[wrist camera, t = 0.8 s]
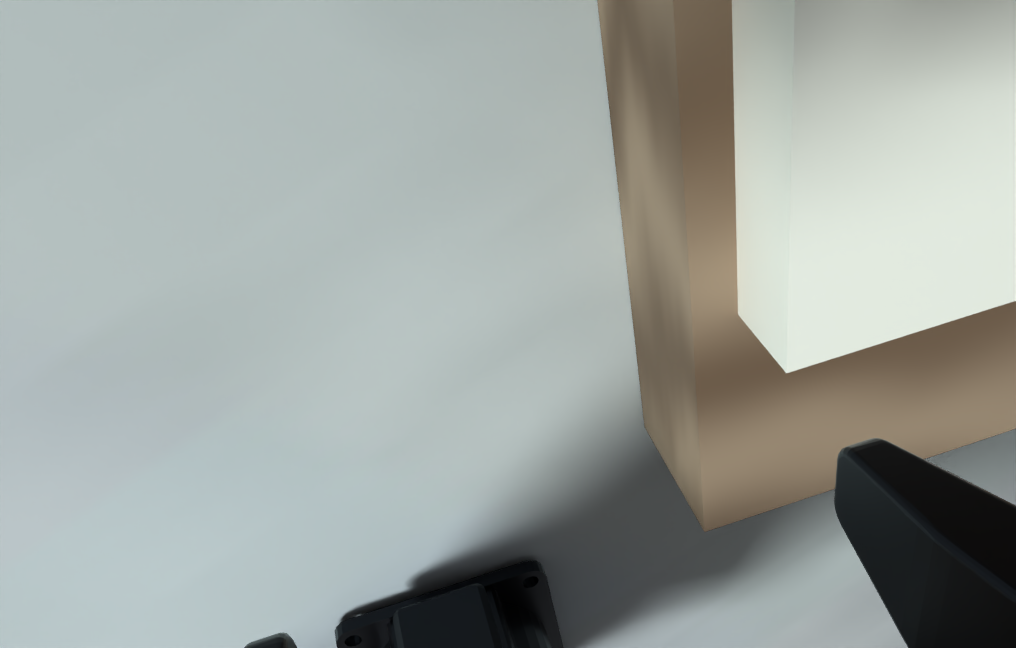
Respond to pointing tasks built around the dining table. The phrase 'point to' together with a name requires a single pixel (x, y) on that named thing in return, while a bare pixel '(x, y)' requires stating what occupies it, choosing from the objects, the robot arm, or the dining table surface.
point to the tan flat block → (714, 299)
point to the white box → (871, 169)
